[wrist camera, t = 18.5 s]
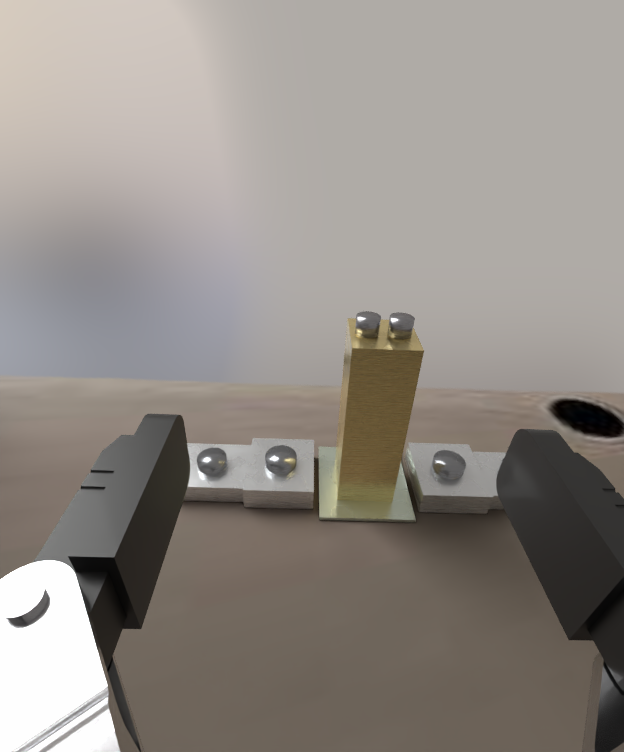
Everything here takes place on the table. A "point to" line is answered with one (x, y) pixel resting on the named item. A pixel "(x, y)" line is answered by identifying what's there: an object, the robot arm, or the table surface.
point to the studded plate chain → (296, 479)
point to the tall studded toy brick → (375, 404)
